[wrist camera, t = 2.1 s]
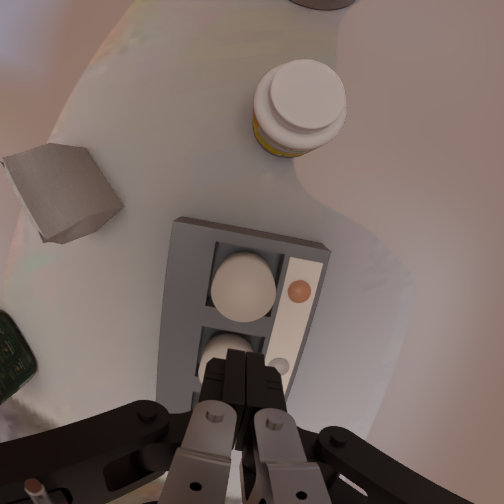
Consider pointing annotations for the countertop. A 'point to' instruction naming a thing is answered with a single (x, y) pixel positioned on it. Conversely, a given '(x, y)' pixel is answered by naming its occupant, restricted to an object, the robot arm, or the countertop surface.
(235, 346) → the middle button
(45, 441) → the robot arm
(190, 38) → the countertop surface
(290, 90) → the supplement bottle
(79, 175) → the grey carton box
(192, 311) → the button board
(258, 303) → the button
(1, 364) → the coffee jar
